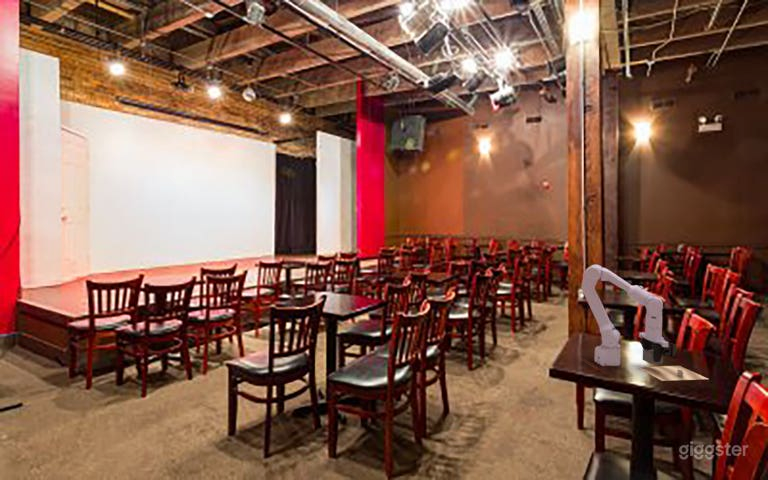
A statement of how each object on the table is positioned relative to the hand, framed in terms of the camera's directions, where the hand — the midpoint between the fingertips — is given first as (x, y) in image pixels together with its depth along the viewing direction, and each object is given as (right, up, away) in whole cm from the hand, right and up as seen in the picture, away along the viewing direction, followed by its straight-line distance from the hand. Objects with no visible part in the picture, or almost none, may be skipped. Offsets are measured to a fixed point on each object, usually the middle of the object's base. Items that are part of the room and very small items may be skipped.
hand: (652, 359), depth 177 cm
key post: (+7, -5, -7) cm, 11 cm away
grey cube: (0, -1, 0) cm, 1 cm away
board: (+5, -6, -3) cm, 9 cm away
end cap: (+18, -5, +23) cm, 30 cm away
